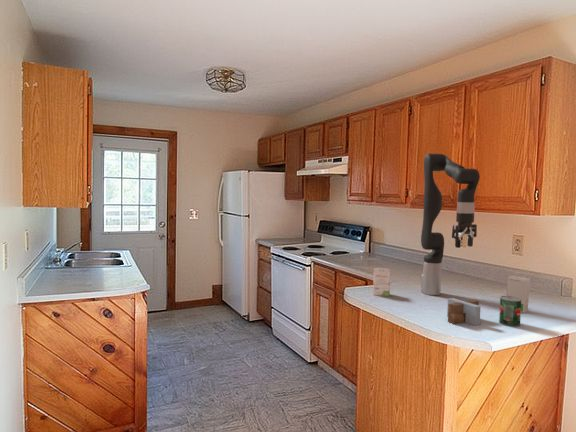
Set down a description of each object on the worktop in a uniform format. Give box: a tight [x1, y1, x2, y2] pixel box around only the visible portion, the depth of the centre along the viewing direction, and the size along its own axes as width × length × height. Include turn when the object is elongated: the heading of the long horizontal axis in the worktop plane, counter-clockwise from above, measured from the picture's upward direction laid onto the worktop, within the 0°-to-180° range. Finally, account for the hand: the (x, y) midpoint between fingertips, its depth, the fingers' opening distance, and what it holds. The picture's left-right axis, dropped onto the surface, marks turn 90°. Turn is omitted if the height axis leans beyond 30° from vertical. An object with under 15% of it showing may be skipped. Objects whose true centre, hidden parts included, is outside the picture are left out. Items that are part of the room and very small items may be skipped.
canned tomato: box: [498, 295, 522, 328], centre depth 170 cm, size 8×8×11 cm
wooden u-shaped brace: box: [447, 298, 480, 325], centre depth 174 cm, size 3×16×8 cm, turn 119°
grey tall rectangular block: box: [446, 297, 481, 327], centre depth 174 cm, size 14×3×8 cm, turn 29°
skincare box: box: [505, 275, 531, 314], centre depth 190 cm, size 8×7×16 cm
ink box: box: [372, 267, 391, 297], centre depth 215 cm, size 9×5×15 cm, turn 74°
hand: (463, 247), depth 187 cm, fingers open, 8 cm apart
